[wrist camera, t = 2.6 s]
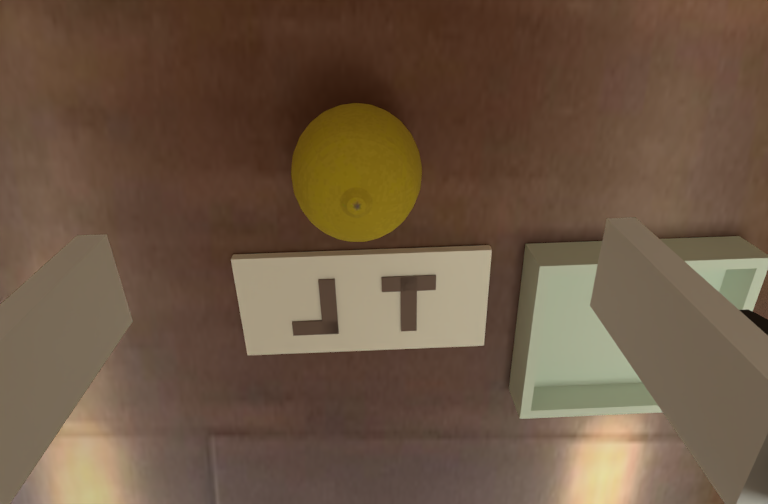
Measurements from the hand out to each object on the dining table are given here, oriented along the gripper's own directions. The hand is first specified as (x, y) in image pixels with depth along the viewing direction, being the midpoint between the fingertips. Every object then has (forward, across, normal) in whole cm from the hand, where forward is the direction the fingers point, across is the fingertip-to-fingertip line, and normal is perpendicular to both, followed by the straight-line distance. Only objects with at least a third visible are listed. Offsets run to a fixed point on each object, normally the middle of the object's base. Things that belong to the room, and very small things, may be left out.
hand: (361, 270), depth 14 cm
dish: (+13, -15, +11) cm, 23 cm away
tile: (+13, 0, +9) cm, 16 cm away
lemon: (+13, 0, 0) cm, 13 cm away
